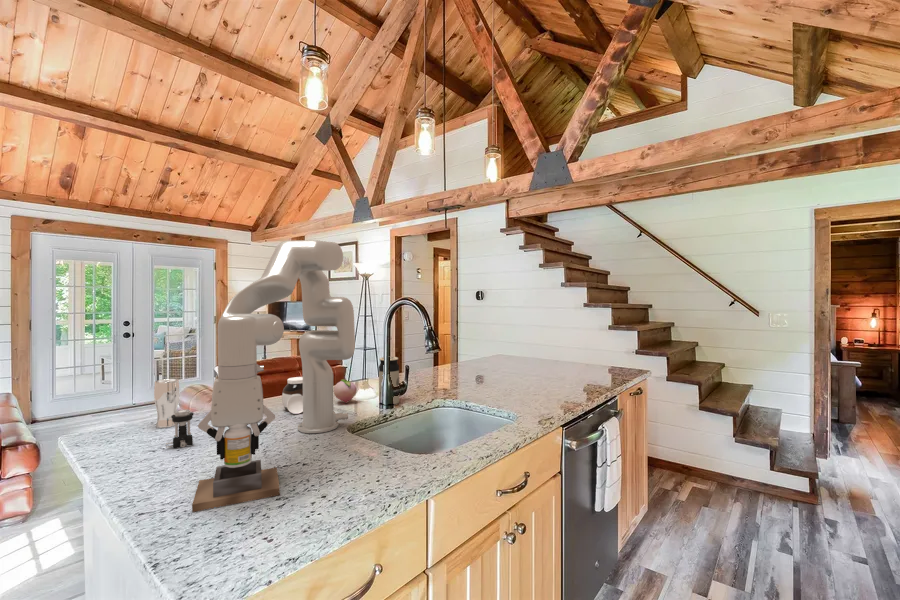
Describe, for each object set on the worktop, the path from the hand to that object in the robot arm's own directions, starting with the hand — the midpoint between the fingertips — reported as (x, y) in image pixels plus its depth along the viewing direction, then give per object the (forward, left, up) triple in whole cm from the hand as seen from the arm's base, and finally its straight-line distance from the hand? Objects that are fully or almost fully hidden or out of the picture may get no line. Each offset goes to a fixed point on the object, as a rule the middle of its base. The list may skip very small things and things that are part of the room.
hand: (238, 454), depth 90 cm
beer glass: (+23, -63, -8) cm, 68 cm away
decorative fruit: (-36, -66, -8) cm, 76 cm away
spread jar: (-18, -63, -8) cm, 66 cm away
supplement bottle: (0, 0, -2) cm, 2 cm away
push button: (+16, -38, -8) cm, 42 cm away
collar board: (0, 0, -8) cm, 8 cm away
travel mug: (-52, -58, -8) cm, 78 cm away
